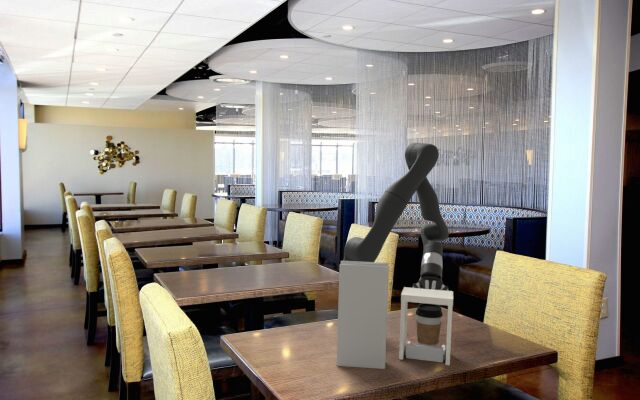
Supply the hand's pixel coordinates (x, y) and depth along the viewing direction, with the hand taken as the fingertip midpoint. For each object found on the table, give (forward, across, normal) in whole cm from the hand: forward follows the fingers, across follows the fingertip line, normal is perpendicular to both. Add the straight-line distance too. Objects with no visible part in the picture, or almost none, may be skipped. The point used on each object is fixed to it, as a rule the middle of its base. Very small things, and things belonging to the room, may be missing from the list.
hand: (428, 309), depth 177 cm
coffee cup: (+18, +1, -4) cm, 18 cm away
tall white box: (+29, -18, -15) cm, 37 cm away
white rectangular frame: (+19, 0, -6) cm, 20 cm away
